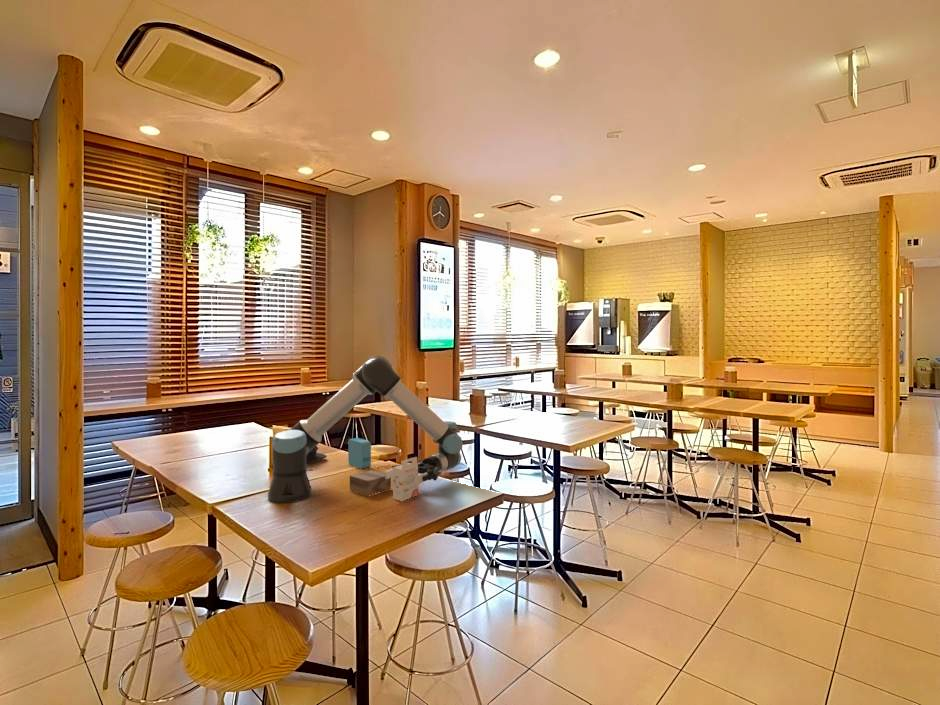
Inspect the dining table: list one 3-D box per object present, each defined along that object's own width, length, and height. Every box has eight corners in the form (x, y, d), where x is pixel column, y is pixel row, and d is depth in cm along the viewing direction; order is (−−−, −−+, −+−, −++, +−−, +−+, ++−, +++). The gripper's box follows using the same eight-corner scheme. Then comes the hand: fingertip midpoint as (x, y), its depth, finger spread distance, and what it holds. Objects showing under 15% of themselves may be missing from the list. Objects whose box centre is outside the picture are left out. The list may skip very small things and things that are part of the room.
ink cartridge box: (408, 493, 188) (408, 454, 187) (418, 495, 185) (418, 456, 184) (392, 499, 181) (392, 458, 180) (402, 502, 178) (402, 461, 177)
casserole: (280, 471, 217) (279, 452, 216) (264, 463, 230) (264, 445, 230) (333, 462, 233) (333, 444, 233) (316, 455, 247) (316, 438, 247)
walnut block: (367, 497, 184) (367, 481, 183) (349, 491, 191) (349, 475, 190) (390, 490, 192) (390, 474, 192) (372, 484, 199) (372, 469, 199)
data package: (371, 467, 223) (371, 441, 223) (362, 469, 220) (362, 442, 220) (356, 462, 232) (356, 437, 232) (348, 464, 229) (348, 438, 229)
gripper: (460, 479, 192) (429, 493, 174) (409, 469, 205) (374, 483, 186) (461, 459, 192) (429, 472, 173) (409, 451, 204) (374, 463, 186)
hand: (400, 478), depth 180 cm, fingers open, 13 cm apart
